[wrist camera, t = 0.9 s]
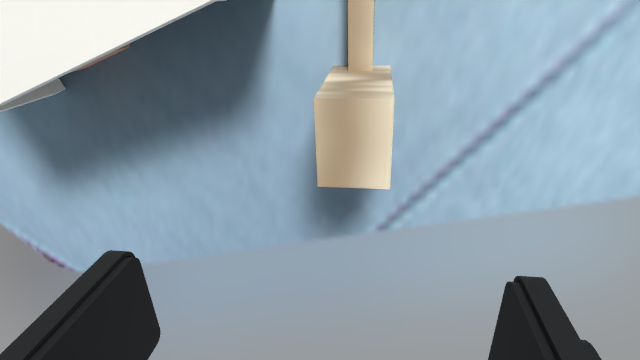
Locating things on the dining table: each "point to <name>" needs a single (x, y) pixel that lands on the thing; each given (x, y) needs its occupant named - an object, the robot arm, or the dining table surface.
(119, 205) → the dining table surface
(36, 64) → the shelf cubby
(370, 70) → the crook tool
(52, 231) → the dining table surface
